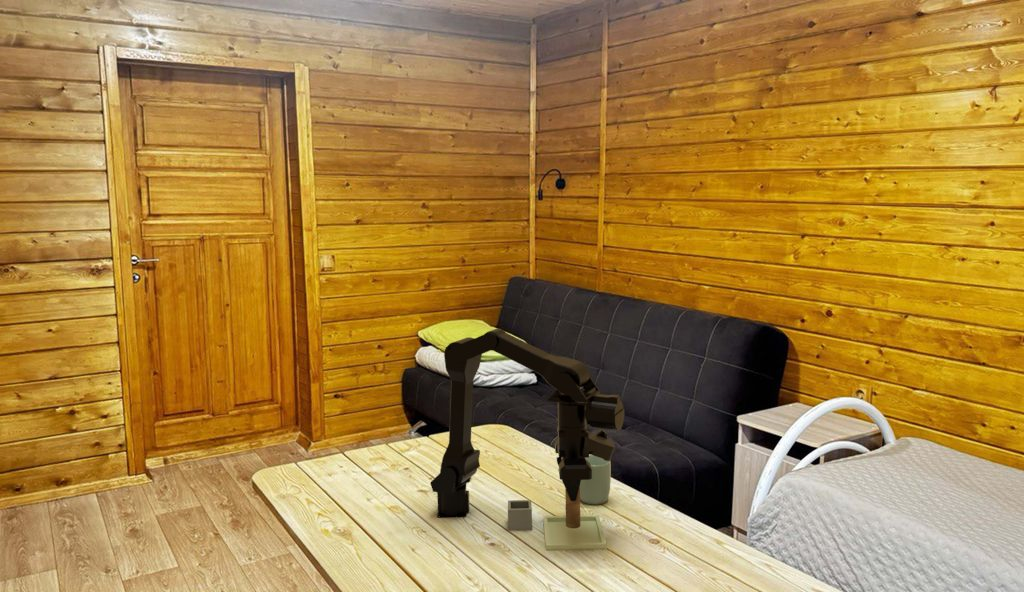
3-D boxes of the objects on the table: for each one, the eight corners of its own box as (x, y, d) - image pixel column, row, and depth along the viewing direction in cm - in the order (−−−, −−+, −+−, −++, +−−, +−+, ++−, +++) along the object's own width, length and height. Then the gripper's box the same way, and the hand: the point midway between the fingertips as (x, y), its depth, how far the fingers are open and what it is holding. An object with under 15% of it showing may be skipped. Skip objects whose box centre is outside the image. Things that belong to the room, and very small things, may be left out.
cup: (609, 509, 176) (609, 466, 175) (574, 507, 178) (574, 464, 176) (612, 496, 184) (611, 455, 182) (578, 494, 185) (578, 453, 184)
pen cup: (508, 532, 165) (507, 509, 165) (508, 522, 170) (508, 500, 170) (532, 532, 165) (531, 509, 165) (531, 522, 170) (531, 500, 170)
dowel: (566, 528, 161) (565, 481, 160) (565, 522, 164) (564, 476, 163) (580, 528, 161) (580, 481, 160) (579, 522, 164) (579, 475, 163)
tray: (545, 552, 156) (545, 545, 156) (543, 522, 170) (543, 516, 170) (606, 551, 156) (606, 544, 156) (598, 521, 170) (598, 515, 170)
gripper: (617, 437, 150) (618, 515, 153) (606, 410, 169) (606, 480, 171) (559, 438, 150) (560, 516, 153) (554, 411, 169) (555, 481, 171)
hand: (572, 497), depth 162 cm, fingers closed on dowel, 3 cm apart
